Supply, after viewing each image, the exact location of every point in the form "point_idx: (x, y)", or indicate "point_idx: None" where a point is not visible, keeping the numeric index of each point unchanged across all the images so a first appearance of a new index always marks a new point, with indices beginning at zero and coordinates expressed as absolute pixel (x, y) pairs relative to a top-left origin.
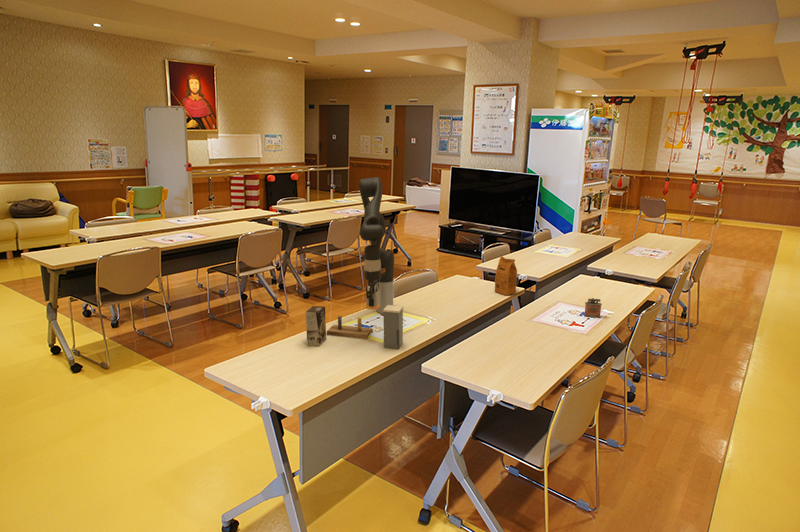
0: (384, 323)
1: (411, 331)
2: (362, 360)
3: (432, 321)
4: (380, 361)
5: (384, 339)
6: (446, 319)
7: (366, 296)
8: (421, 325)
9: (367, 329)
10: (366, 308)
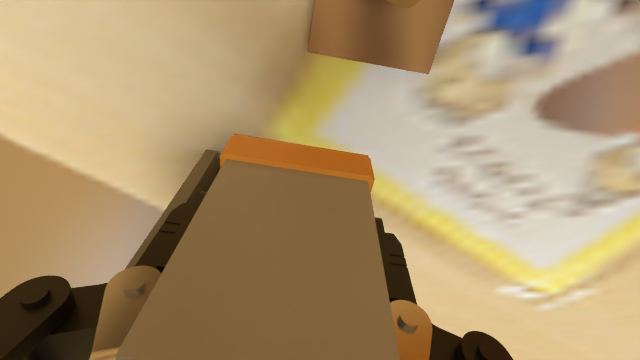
0: (149, 240)
1: (416, 241)
2: (12, 66)
3: (523, 301)
4: (51, 150)
5: (191, 175)
6: (532, 334)
7: (174, 255)
8: (484, 271)
9: (407, 41)
10: (231, 139)
